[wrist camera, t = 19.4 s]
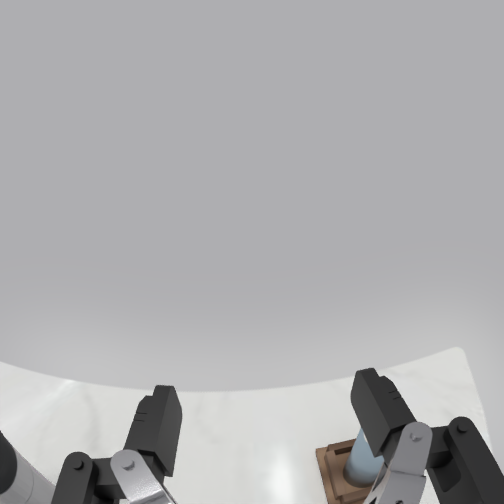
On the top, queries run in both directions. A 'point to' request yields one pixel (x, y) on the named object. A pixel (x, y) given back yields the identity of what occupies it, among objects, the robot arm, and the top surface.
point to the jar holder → (339, 474)
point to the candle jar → (361, 464)
